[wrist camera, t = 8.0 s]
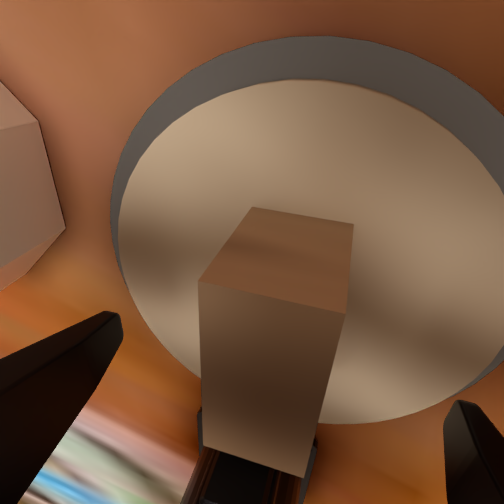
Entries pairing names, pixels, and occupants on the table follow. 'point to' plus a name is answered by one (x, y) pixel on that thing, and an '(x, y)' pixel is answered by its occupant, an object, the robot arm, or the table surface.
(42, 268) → the table surface
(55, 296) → the table surface
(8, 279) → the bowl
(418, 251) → the lid
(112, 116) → the table surface
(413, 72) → the mat
